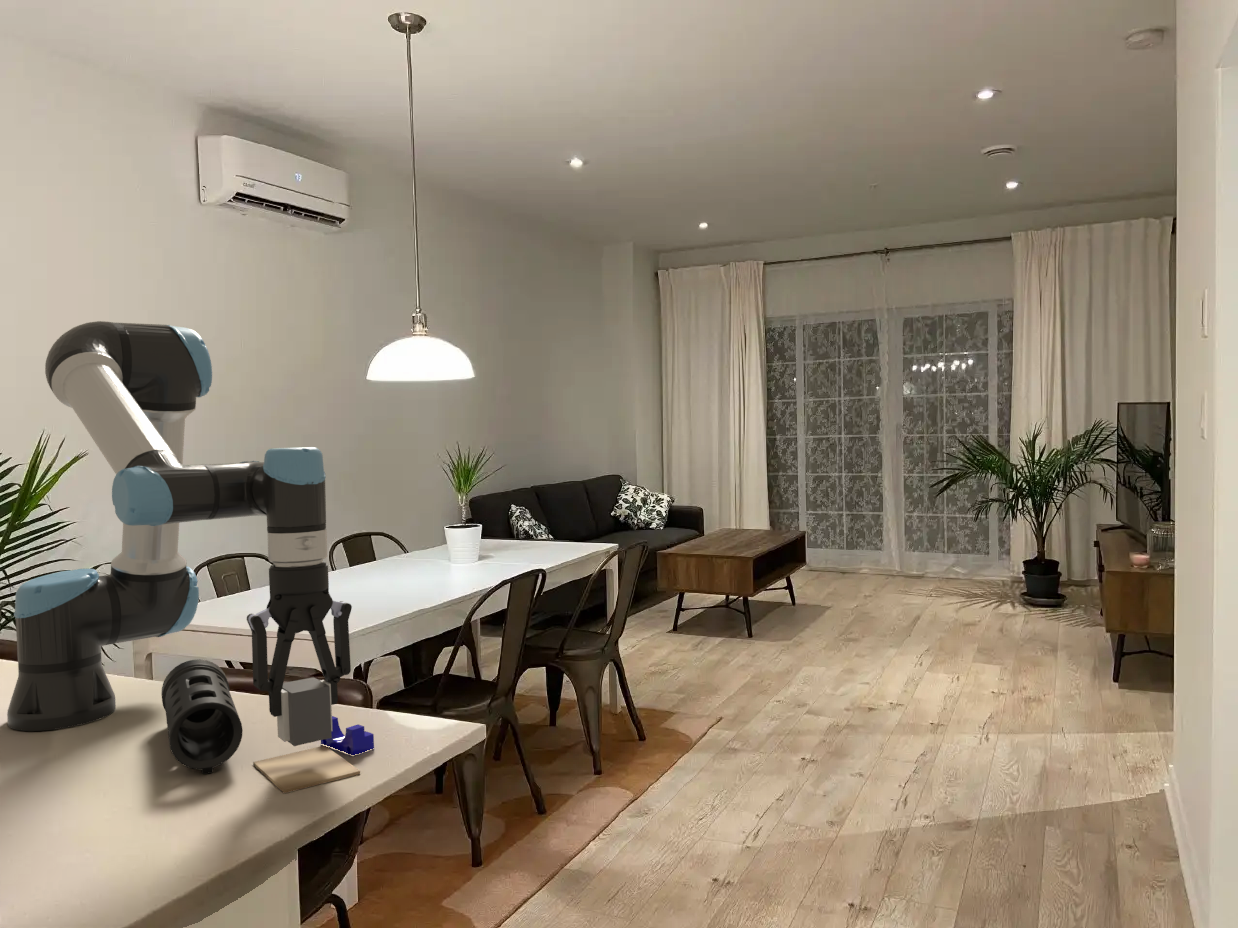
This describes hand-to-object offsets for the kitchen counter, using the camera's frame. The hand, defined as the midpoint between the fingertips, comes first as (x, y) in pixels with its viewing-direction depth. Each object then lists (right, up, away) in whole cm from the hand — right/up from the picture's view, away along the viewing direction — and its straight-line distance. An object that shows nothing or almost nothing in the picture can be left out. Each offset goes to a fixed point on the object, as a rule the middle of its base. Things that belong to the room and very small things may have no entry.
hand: (305, 733), depth 125 cm
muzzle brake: (-19, -5, +11) cm, 23 cm away
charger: (0, 0, 0) cm, 0 cm away
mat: (0, -5, 0) cm, 5 cm away
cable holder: (+3, -5, +9) cm, 11 cm away
